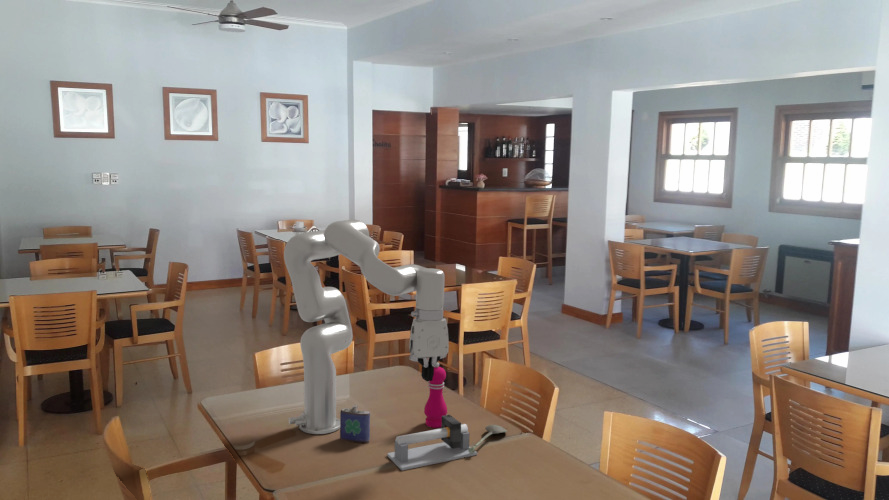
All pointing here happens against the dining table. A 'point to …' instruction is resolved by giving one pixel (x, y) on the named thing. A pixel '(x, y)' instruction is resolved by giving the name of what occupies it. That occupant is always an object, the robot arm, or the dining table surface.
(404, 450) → the rail
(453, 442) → the collar
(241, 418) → the dining table surface
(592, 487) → the dining table surface
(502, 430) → the soupspoon
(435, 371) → the pepper mill
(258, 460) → the dining table surface
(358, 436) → the flask
